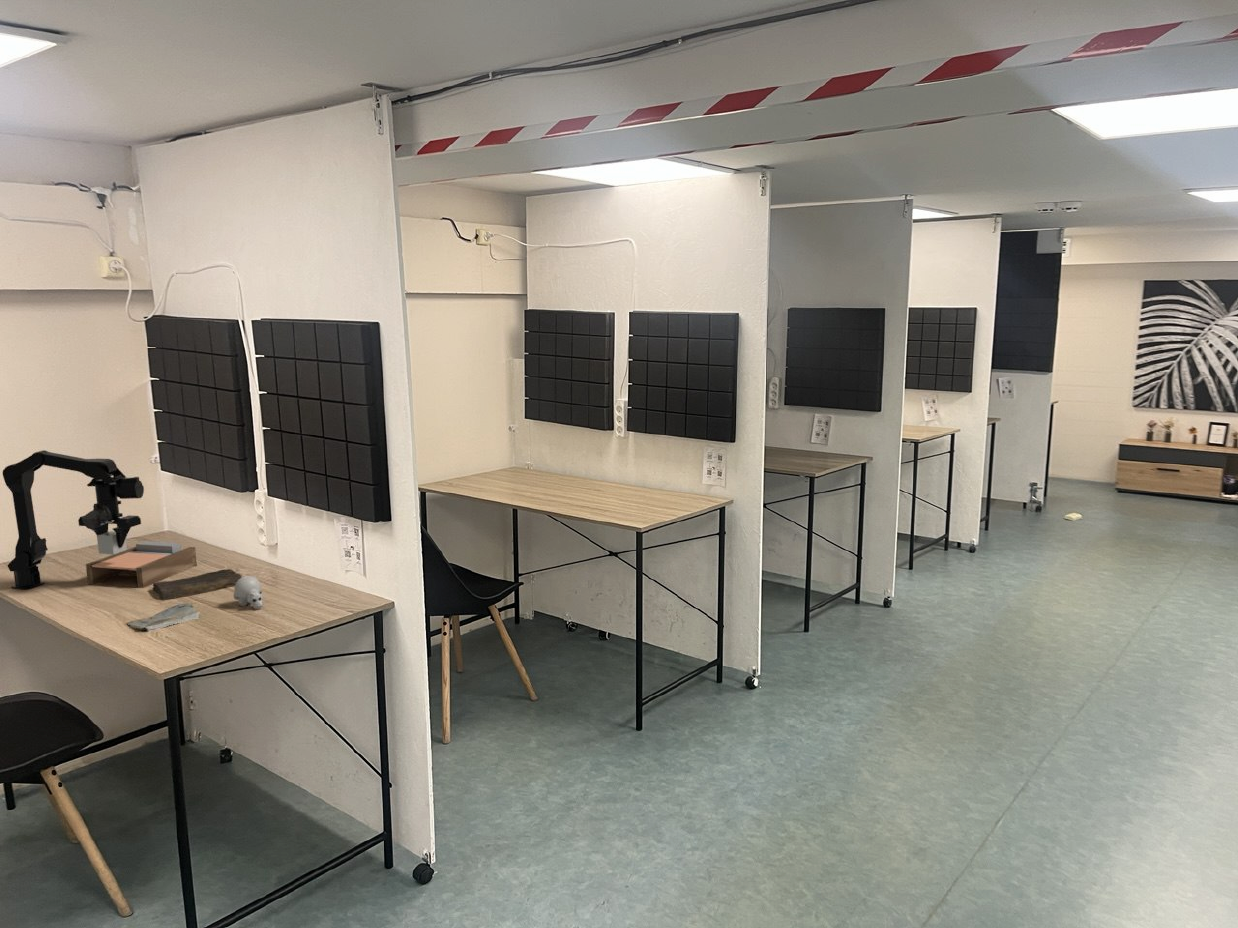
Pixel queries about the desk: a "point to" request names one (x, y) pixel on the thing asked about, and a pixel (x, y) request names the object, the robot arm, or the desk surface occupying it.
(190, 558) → the frame
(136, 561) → the trapdoor
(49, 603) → the desk surface
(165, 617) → the fossil rock
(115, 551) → the gray cube
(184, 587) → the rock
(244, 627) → the desk surface
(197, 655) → the desk surface
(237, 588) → the chubby cartoon animal
